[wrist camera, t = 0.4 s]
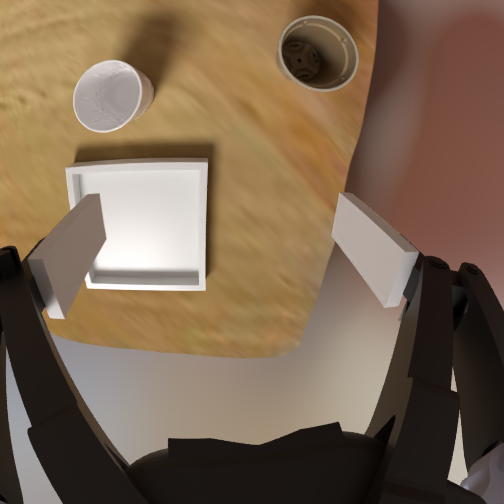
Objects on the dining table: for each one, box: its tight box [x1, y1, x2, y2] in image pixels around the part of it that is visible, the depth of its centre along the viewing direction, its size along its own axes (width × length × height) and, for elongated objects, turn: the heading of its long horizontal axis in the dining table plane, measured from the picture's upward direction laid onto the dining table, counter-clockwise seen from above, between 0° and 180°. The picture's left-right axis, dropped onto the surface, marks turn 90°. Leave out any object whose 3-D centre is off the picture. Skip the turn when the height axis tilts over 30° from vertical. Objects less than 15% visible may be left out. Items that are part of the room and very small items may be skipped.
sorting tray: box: [65, 158, 208, 291], centre depth 40 cm, size 20×20×3 cm
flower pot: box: [277, 15, 359, 92], centre depth 29 cm, size 9×9×9 cm
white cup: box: [73, 60, 154, 132], centre depth 27 cm, size 8×8×10 cm
